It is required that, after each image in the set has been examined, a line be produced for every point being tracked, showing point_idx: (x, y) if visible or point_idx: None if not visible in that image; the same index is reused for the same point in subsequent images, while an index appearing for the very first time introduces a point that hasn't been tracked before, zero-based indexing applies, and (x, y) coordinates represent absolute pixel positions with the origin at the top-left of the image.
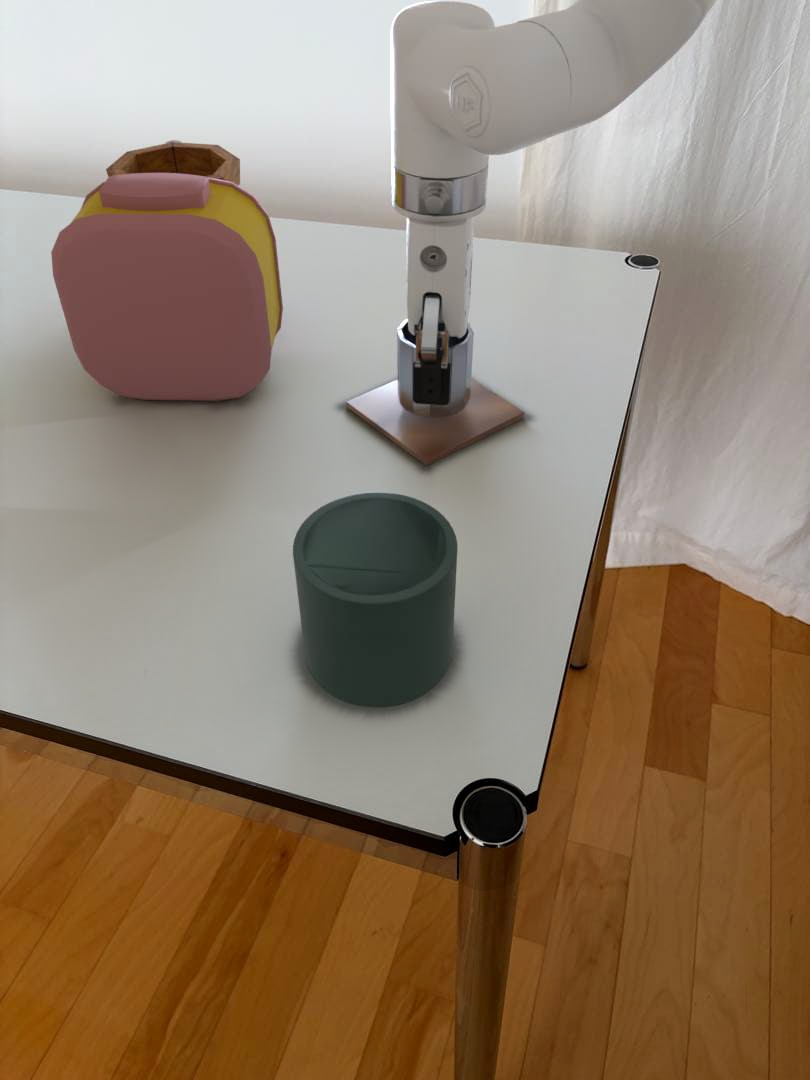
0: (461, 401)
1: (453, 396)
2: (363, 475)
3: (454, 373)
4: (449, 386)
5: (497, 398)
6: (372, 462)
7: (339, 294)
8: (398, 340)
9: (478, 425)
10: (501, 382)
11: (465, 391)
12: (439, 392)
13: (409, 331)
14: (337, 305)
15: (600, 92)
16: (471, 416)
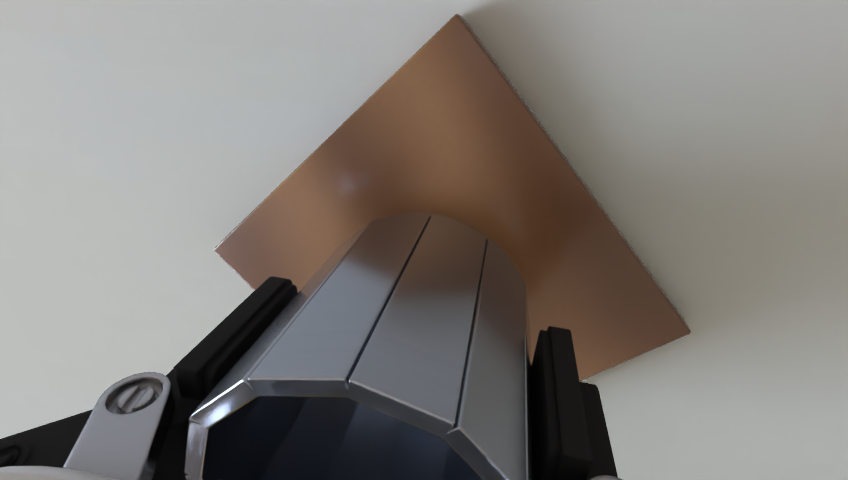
0: (496, 260)
1: (518, 306)
2: (687, 442)
3: (517, 370)
4: (577, 377)
5: (379, 108)
6: (637, 422)
7: (33, 402)
8: None
9: (530, 180)
10: (268, 82)
11: (480, 262)
12: (599, 404)
13: None
14: (70, 409)
15: None
16: (479, 197)
